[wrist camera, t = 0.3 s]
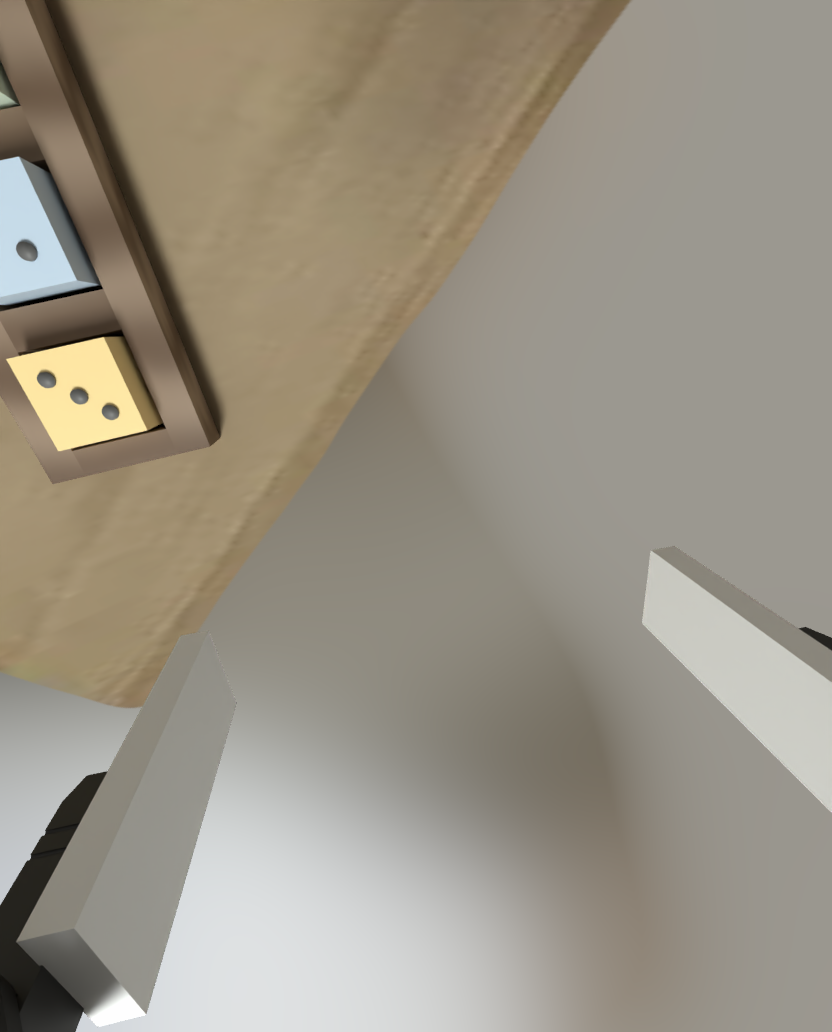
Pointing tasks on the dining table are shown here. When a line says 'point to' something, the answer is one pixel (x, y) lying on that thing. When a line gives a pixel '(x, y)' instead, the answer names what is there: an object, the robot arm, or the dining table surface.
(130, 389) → the tile
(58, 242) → the tile
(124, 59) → the dining table surface
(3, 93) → the tile
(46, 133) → the board
